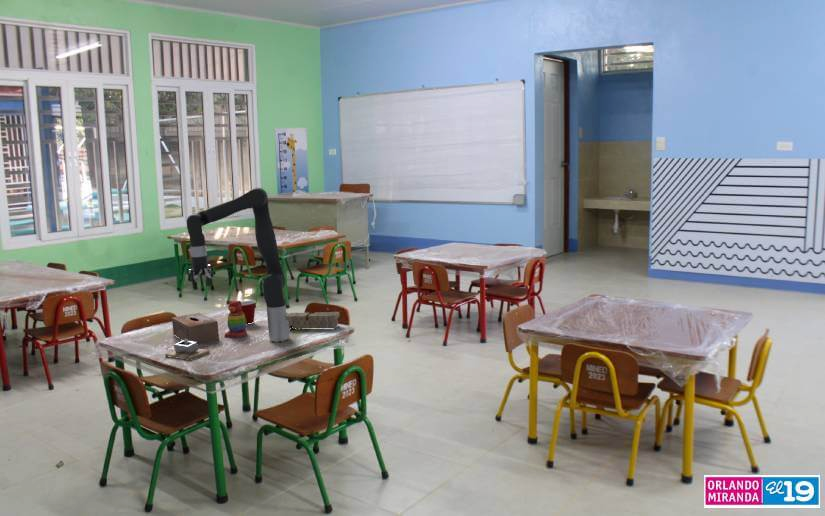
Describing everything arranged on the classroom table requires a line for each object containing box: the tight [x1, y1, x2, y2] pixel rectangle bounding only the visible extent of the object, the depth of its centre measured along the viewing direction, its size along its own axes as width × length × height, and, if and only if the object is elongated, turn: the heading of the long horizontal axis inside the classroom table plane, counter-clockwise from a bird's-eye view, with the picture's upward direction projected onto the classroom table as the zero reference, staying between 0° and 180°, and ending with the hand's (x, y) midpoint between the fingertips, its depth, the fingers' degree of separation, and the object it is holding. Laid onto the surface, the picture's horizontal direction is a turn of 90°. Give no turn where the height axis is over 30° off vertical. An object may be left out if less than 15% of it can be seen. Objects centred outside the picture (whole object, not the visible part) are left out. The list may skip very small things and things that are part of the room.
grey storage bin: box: [173, 340, 199, 355], centre depth 338 cm, size 9×6×4 cm, turn 61°
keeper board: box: [164, 339, 210, 361], centre depth 338 cm, size 16×12×8 cm
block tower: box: [286, 311, 341, 329], centre depth 376 cm, size 8×8×29 cm
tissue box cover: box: [171, 312, 220, 345], centre depth 367 cm, size 26×14×10 cm, turn 36°
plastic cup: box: [241, 299, 257, 324], centre depth 392 cm, size 11×11×12 cm
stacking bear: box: [224, 300, 248, 339], centre depth 369 cm, size 11×10×18 cm
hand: (202, 287), depth 352 cm, fingers open, 8 cm apart
